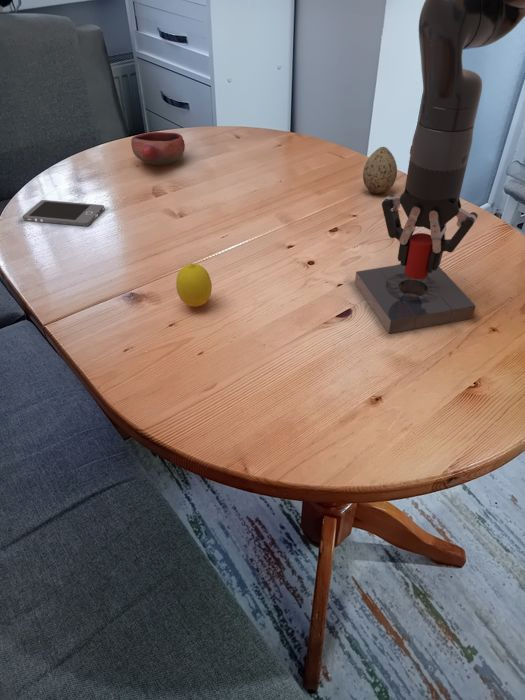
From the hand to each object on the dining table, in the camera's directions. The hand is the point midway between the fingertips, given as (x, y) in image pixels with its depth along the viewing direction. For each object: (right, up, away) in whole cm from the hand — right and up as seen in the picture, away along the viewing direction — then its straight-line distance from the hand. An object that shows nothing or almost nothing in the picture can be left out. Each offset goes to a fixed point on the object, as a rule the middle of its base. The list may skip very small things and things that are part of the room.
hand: (417, 266), depth 83 cm
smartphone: (-66, +16, +30) cm, 74 cm away
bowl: (-48, +32, +49) cm, 76 cm away
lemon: (-35, -6, +4) cm, 36 cm away
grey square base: (0, -5, +4) cm, 6 cm away
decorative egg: (+1, +22, +35) cm, 41 cm away
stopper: (0, -1, +1) cm, 1 cm away
